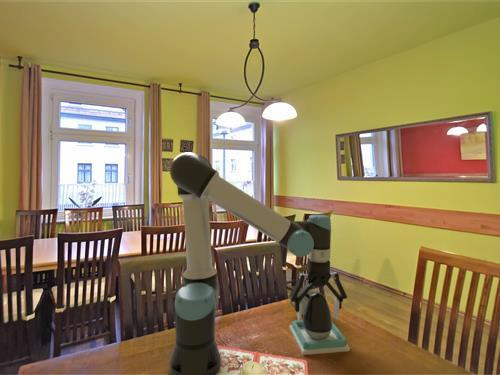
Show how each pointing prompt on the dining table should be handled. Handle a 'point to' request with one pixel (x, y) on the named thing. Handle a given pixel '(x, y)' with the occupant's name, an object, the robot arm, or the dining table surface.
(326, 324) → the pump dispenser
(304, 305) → the teacup
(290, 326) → the dock
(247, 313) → the dining table surface
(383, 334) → the dining table surface
